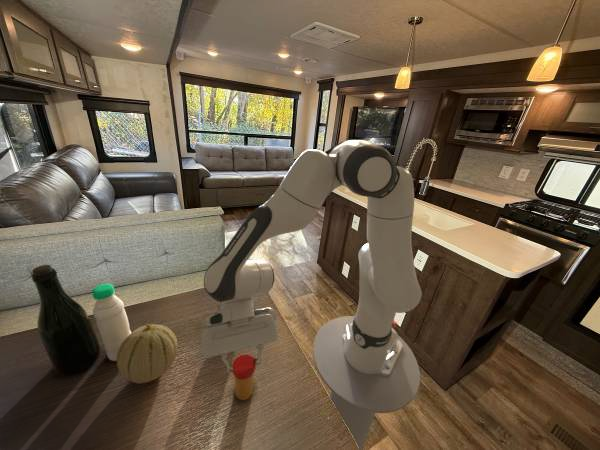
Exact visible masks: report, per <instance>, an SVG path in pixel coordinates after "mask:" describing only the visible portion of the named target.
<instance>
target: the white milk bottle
mask: <svg viewBox="0 0 600 450" xmlns="http://www.w3.org/2000/svg"><path fill="white" fill-rule="evenodd" d="M115 293H116V292H115V287H114V285H113V284H111V283H102V284H99V285H97V286H95V287H94V288H93V289H92V291H91V295H92V297H93V299H94V300H95V303H94V306H93V309H92V315H93V317H94V319H95V323H96V326H97V330H98V333H99V335H100V338H101V340H102V344H103V347H104V349H105V353H106V356H107V359H108V360H110V361H112V362H117V359H116V358H117V353H118V350H119V347H120V346H121V344H122V342H123V341H124V340H125V339H126V337H128V336H129V335H130V334H131V333H132V331H131V329H130V322H129V318H128V315H127V312H126V309H125V304H124V301H123V300H122V299H121V298H119V297H118V296H117V295H116V294H115Z"/></svg>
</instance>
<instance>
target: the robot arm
mask: <svg viewBox="0 0 600 450" xmlns="http://www.w3.org/2000/svg"><path fill="white" fill-rule="evenodd" d="M341 186H343V187H346V188H347V189H348V190H349V191H350V192H352V193H354V194H355V195H358V196H361V197H366V198H367V207H366V208H367V209H366V240H367V243H365V244H364V245H363V246H361V248H360V249H359V251H358V254H357V255H358V256H357V257H358V264H359V277H358V278H359V281H358V283H359V284H358V285H359V289H358V291H359V294H358V304H357V307H356V308H357V309H356V313H355V315H354V316H355V317H354V319H353V323H352V324H350V325H349V328H348V325H347V326H346V327H347V333H346V334H344V335H343V337H342V339H343V342H344V349H343V350H344V356H345V358H346V360H347V361H348V363H349V364H350V365H351V366H352V367H353V368H354V369H356V370H358V371H359V372H362V373H365V374H371V375H373V374H380V375H383V376H389V375H390V374H391V371H392V369H393V367H394V365H395V363H396V361H397V359H398V357H399V354H400V352H401V350H402V347H403V345H402V343H401V342H400V341H399V339H398V336H399V333H398V332H397V331H396V330H395V328H396V327H397V324H398V322H396V321H395V317H396V314H404V313H408V312H411V311H412V310H414V309H415V308H416V307H417V306H418V305H419V304H420V302H421V300H422V296H423V292H422V289H421V286H420V284H419V280H418V277H417V272H416V267H415V262H414V254H413V246H412V231H413V220H414V211H415V209H414V208H415V188H414V186H415V185H414V180H413V175H412V173H411V172H410V171H409V170H408V169H407V168H405V167H403V166H399V165H397V164H396V161H395V159H394V157H393V156H392V154H391V153H390V151H388V149H386V148H385V147H384V146H382V145H379V144H376V143H373V142H372V141H368V140H366V139H355V138H349V139H345V140H342V141H340V142H339V143H337V144H336V145H334V146H333V147H331V148H329V149H328V150H325V152H324V151H322V150H319V149H312V148H311V149H306V150H304V151H303V152H302V153H301V154H300V155H299V156H298V157H297V159H296V160H295V161H294V163H293V164H291V166H290V168H289V169H288V171H287V172H286V174H285V175H284V177H283V179H282V180H281V182H280V184H279V185H278V188H277V189H276V191H274V193H273V194H272V195H271V197H269V199H268V200H266V201H265V202H264V203H263V204H261V205H260V206H257V207H256V208H255V209H253V210H252V212H251V213H250V214H249V215H248V216H247V217H246V219H245V220H244V222H242V224H241V225H240V227H239V228H238V230H237V231H236V232H235V234H234V235H233V236H232V238H231V240H230V241H229V242H228V244H227V245H226V246H225V248H224V249H223V250H222V251H221V253H220V254H219V256H217V257H216V258H215V259H214V260H213V261H212V262H211V263H210V265H208V267H207V268H206V271H205V272H204V276H203V288H204V290H205V291H206V293H207V294H208V296H210V297H211V298H212V299H213V300H214V301H215V302H218V303H219V302H221V311H217V312H214V313H213V314H211V315H210V316H208V317H206V318H205V319H204V326H205V327H206V328H204V330H203V332H202V336H201V346H200V347H201V357H202V358H203V359H205V360H206V359H209V358H214V357H219V356H221V360H222V362H223V363H224V365H225V366H226V372H227V374H229V373H233V362H231V363H230V362H229V361H228V360H227V359H228V354H230V353H233V352H238V351H241V350H245V349H249V348H253V347H256V349H257V350H258V352H257V355H256V356H254V357H253V358H254V360H255V365H256V366H257V365H261V364H262V360H261V357H262V354H263V351H264V345H266V344H268V343H274V342H277V341H278V339H279V331H278V327H277V324H276V320H277V315H276V311H275V310H274V309H273V308H271V307H264V308H258V309H254V308H255V307H254V301H253V297H255V296H262V295H265V294H267V293H269V292H271V290H272V288H273V286H274V283H275V271H274V268H273V266H272V265H271V264H270V263H269V261H267V260H263V259H253V258H251V256H252V255H253V254H254V252H255V251H256V250H257V248H258V247H259V246H260V245H261V244H263V243H264V242H266V241H267V240H269V239H272V238H274V237H277V236H282V235H285V234H290V233H295V232H299V231H301V230H304V229H306V227H307V226H309V224H310V223H311V222H312V221H313V220H314V219H315V217H316V216H317V214H318V213H319V211H320V210H321V208H322V206H323V204H324V203H325V201H326V199H327V197H328V196H329V195H330V194H331V193H332V192H333V191H335V190H336V189H337V188H339V187H341ZM387 369H388V370H387Z"/></svg>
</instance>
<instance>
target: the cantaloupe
mask: <svg viewBox="0 0 600 450" xmlns="http://www.w3.org/2000/svg"><path fill="white" fill-rule="evenodd" d="M178 349H179V343H178V339H177V336H176V334H175V333H174V332H173V331H172V330H171V329H170V327H168V326H166V325H162V324H155V323H153V324H149V323H146V324H145V325H143V326H139V327H138V328H136V329H134V330H133V331H131V334H130V335H129V336H128V337H126V339H125V340H124V341H123V342H122V344H121V346H120V347H119V350H118V353H117V358H116V359H117V361H116V366H117V369H118V372H119V374H120V375H121V377H122V378H123V379H124V380H127V381H129V382H132V383H135V384H145V383H146V384H147V383H149V382H152V381H154V380H157V379H158V378H160V377H161V376H163V374H165V373H166V372H167V371H168V370H169V369H170V368H171V366H172V365H173V363H174V361H175V359H176V356H177V353H178Z"/></svg>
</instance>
